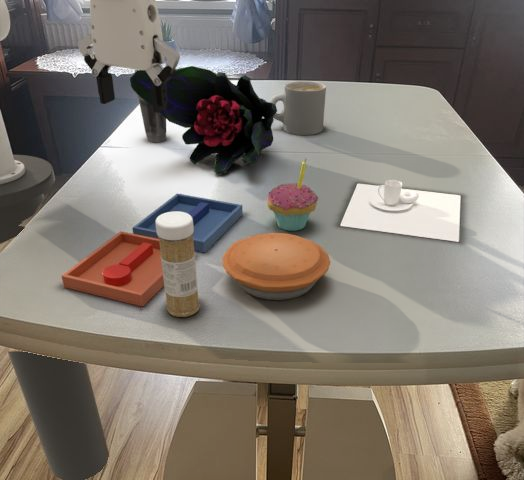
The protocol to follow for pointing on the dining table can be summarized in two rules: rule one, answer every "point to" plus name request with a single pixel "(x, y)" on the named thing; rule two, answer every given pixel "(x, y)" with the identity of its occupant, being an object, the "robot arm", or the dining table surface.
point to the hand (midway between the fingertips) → (133, 106)
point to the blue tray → (204, 229)
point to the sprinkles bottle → (178, 262)
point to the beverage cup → (152, 122)
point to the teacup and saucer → (404, 211)
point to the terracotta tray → (112, 252)
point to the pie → (276, 265)
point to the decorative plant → (214, 114)
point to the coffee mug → (302, 107)
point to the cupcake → (292, 203)
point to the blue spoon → (199, 212)
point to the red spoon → (127, 266)
